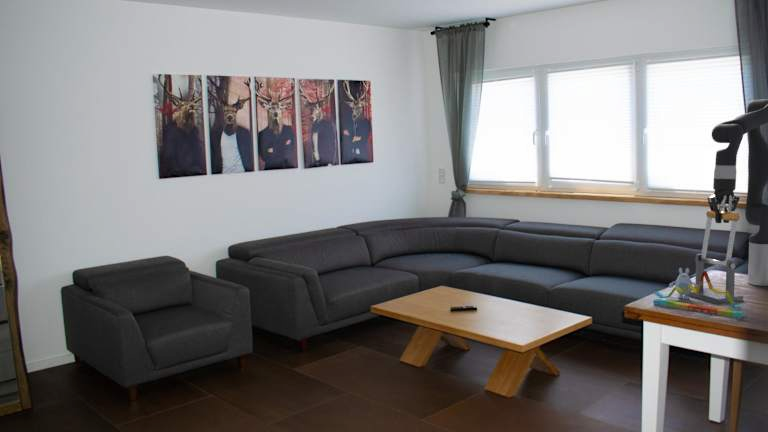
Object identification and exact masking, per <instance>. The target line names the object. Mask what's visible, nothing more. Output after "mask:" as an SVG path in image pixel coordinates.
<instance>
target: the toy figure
mask: <svg viewBox="0 0 768 432" xmlns="http://www.w3.org/2000/svg"><path fill="white" fill-rule="evenodd" d="M678 273H679V274H678V276H677V279H676V280H674V281H672V282H670V283H669V284H668V288H670V289H672V288H675V287H677V286H678V287H679V288H680V289H682V290H684V289H686V288H687V287H688V286H689V285H692V286H693V285H694V286H693V287H694V288H695V289H697V287H698V285H697V284H695V283H696V282H693V281H692V280H691V277H690V276H689V273H690V268H689V267H686V268H685V272H683V268H682V267H679V268H678ZM675 291H676V292H677V293H678V294H679V295H677V298H678V299H682V300H683V299H685V300H689V299H690V296H687V294H689V293H690V292H691V289H690V288H688V289H687V290H686V291H685V292H683V293H680V292H678V291H677V290H675Z"/></svg>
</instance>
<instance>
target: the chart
mask: <svg viewBox="0 0 768 432" xmlns="http://www.w3.org/2000/svg"><path fill="white" fill-rule="evenodd" d="M703 278H704V279H705V282H706V283H707V285H708V287H709V288H710V290H711V291H714V292H716V293H725V294H726V296H727V298H728V300H729V302H730V303H729V304H730V307H731V308H732V309H741V308H742V307H744V305H743V304H740V305H738V304H735V302H733V300H732V298H731V296H730V294H729V292H728V291H726V290H723V291H719V290H717V289H718V288H716V289H715V287H714V286H713V283H712V281H711V279H710V276H709V274H708V272H707V270H704V272H703V273H702V276H701V279H700V281H699V284H698V287H697V290H696V289H695V288H694V286H693V284H692V285H689V286H688V287H687V288H686V289H684V290H682V289H680V288H679V287H678V286H677V287H675V286H674V287H673V288H672V290H671V291H670V292H669V294H668V295H663V294H662V293H660V292H659V291H655V292H653V294H654V295H655V296H657V297H659V298H660V299H659V298H655V299H653V301H652V302H653V303H652V305H654V306H660V307H667V308H672V309H678V310H679V309H680V310H685V311H692V312H697V313H703V314H710V315H715V316H720V317H721V316H722V317H728V318H734V319H741V318H743V316H744V311H738V310H732V309H724V308H719V307H712V306H706V305H701V304H700V305H698V304H692V303H687V302H686V303H685V302H680V301H674V300H667V299H668V298H671V297H672V295H673V294H674V292H675V291H676V290H677V291H678V292H680V293H683V292H685V291H686V290H687V289H688V288H690V289H691V290H692V291H693V292H694V293H695V294H696V293H698V292H699V289H700V287H701V284H702V281H703ZM677 291H676V292H677ZM678 292H677V293H678Z"/></svg>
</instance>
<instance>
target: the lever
mask: <svg viewBox="0 0 768 432" xmlns="http://www.w3.org/2000/svg"><path fill="white" fill-rule="evenodd" d="M721 214H722V221H723V220H729V222H730V221H731V225H730V226H731V227H730V231H729V238H728V243H727V249H726V251H727V252H726V256H725V261H721V260H719V259H718V260H717V259H713V258H707V253H708V252H707V251H708V245H709V239H710V234H711V229H712V221H713V219H715V212H713V211H711V209H709V210H707V211H706V218H707V219H706V222H705V229H704V237H703V243H702V248H701V253H700V254H701V258H700V261H701V262H704V264H705V263H706V264H711V265H715V266H719V267H723V268H726V261H727V260H732V255H733V249H734V243H735V239H736V238H735V236H736V231H737V226H738V225H737V224H738V221H739V220H740V217H741V216H740V214H739V213H736V212H731V213H730V212H724V211H722V213H721Z"/></svg>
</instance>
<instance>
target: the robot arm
mask: <svg viewBox="0 0 768 432" xmlns="http://www.w3.org/2000/svg"><path fill="white" fill-rule="evenodd" d="M765 124H768V98H766V99H765V98H763V99H752V100H750V101H749V102H748V104H747V108H746V113H743V114H741V115H738V116H736V117H734V118H733V119H732V120H728V121H723V122H720V123H718V124H716V125H715V126H714V127H713V129H712V130H711V138H712V140H713V142H716V143H719V144H728V146H726V148H724V149H723V148H722V149H719V150H717V151H716V154H715V166H714V173H713V186H712V187H713V190H714V192H713V195H711V196H708V197H707V202H708V205H709V210H711V211H713V212H715V218H714V221H715V223H716V224H722V222H723V223H725V224H729V223H730V221H729V220H722V214H721V213H722V212H730V213H733V212H735V211H736V208H737V206H738V203H739V202H740V196H739V195H738V196H737V195H735V193H734V191H735V190H736V187H737V186H736V183H737V158H738V152H739V149H740V147H741V143H742V140H743V138H744V135H746V134H747V133H748V157H747V170H748V171H747V173H748V174H747V175H748V176H747V179H748V180H747V192H746V193H747V194H746V202H745V211H744V213H745V214H744V215H745V219H746V221H747V223H748V224H749V225H752V226H758V227H759V228H758V232H756V233H753V234H750V235H749V237H748V265H747V266H748V268H747V270H748V271H747V283H748V284H749V285H754V286H760V287H762V286H763V287H767V286H768V203H763V195H764V191H765V190H764V189H765V188H766V186H767V184H768V143H767V141H766V140H765V138H764V136H763V134H762V130H761V126H763V125H765Z"/></svg>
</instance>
